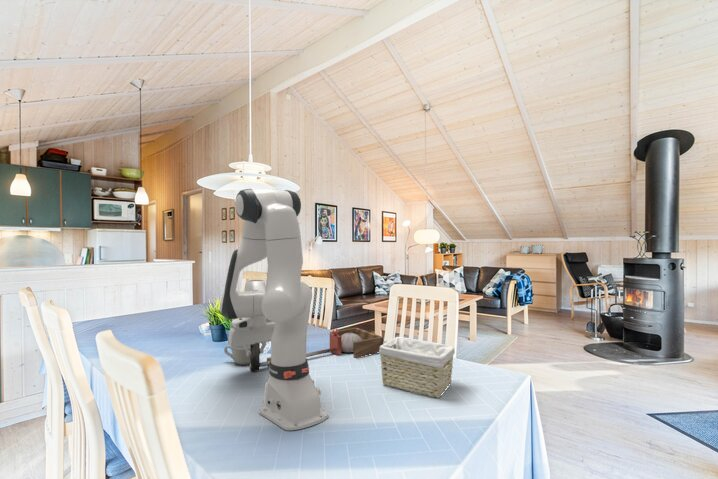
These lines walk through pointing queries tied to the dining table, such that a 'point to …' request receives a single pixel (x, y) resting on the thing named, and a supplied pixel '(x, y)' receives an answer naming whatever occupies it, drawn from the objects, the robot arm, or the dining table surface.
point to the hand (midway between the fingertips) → (255, 354)
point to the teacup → (238, 355)
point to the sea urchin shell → (349, 342)
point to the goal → (364, 342)
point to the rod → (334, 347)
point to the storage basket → (417, 365)
